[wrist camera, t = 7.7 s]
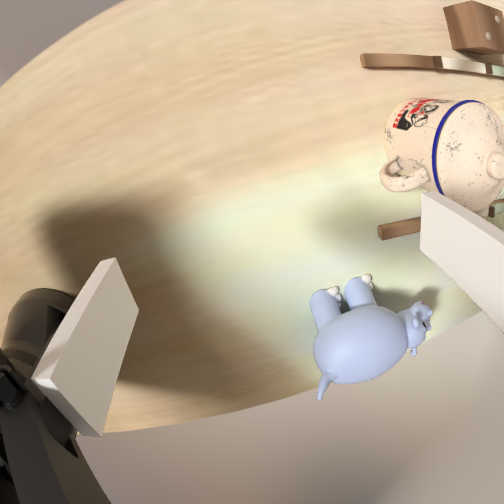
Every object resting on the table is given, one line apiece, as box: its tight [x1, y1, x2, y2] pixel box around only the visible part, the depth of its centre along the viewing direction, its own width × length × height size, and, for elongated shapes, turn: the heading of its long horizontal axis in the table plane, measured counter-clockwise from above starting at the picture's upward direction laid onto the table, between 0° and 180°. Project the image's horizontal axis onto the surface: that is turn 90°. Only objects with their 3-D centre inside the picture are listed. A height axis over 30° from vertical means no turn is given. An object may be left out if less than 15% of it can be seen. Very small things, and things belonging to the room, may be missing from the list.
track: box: [360, 54, 504, 240], centre depth 25 cm, size 26×18×2 cm
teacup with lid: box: [380, 98, 504, 212], centre depth 21 cm, size 12×9×12 cm
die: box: [443, 0, 504, 54], centre depth 18 cm, size 5×5×5 cm
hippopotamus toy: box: [309, 274, 433, 401], centre depth 31 cm, size 11×15×10 cm
